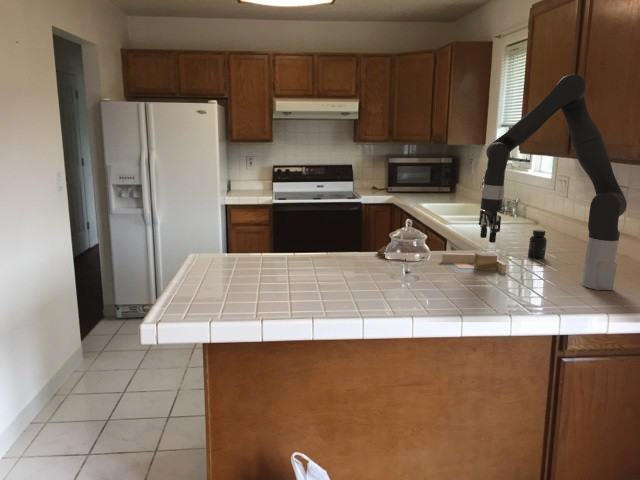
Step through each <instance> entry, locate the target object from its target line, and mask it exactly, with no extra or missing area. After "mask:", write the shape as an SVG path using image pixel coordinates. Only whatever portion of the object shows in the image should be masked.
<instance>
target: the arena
mask: <svg viewBox="0 0 640 480" xmlns="http://www.w3.org/2000/svg"><path fill="white" fill-rule="evenodd" d="M440 262H441V263H443V264H444V265H445V266H446V267H448V268H449V269H450V270H452V272H454V273H456V274H504V275H505V274H506V273H507V265H508V264H507V263H505V262H503V261H502V260H500V259H498V258H497V265H496V271H477V270H476V269H475V268H474V262H475V253H447V252H446V253H442V254H441V260H440Z"/></svg>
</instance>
